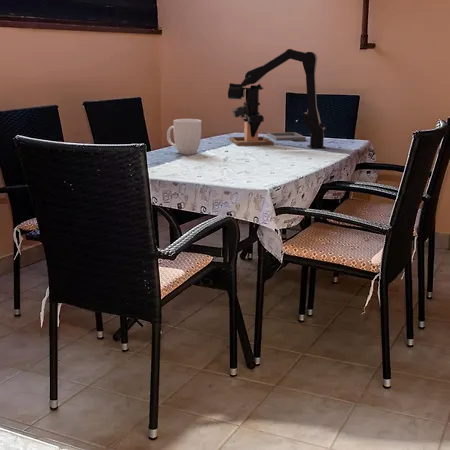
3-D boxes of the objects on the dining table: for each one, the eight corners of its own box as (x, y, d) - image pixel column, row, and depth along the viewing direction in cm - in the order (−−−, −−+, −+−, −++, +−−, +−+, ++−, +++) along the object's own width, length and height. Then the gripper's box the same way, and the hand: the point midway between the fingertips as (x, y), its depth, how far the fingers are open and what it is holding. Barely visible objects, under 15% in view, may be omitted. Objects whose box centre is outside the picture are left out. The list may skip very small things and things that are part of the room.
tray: (305, 141, 297) (305, 137, 297) (275, 141, 294) (276, 137, 294) (295, 136, 312) (295, 132, 312) (266, 136, 309) (266, 132, 309)
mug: (160, 152, 260) (159, 120, 257) (174, 149, 269) (174, 117, 266) (192, 156, 254) (192, 122, 250) (206, 152, 263) (206, 119, 259)
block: (258, 141, 284) (258, 123, 282) (246, 141, 283) (247, 123, 281) (255, 139, 289) (255, 121, 286) (244, 140, 288) (244, 121, 285)
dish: (273, 146, 280) (273, 141, 280) (237, 147, 277) (237, 142, 277) (264, 141, 295) (264, 136, 295) (229, 141, 292) (229, 137, 292)
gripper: (229, 98, 288) (228, 133, 292) (238, 102, 271) (237, 139, 275) (253, 98, 290) (253, 133, 295) (264, 101, 273) (263, 139, 277)
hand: (251, 136), depth 285 cm, fingers closed on block, 5 cm apart
